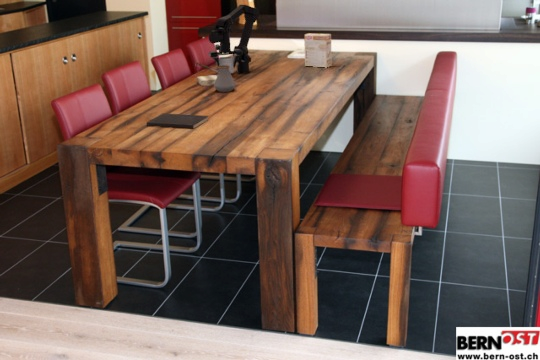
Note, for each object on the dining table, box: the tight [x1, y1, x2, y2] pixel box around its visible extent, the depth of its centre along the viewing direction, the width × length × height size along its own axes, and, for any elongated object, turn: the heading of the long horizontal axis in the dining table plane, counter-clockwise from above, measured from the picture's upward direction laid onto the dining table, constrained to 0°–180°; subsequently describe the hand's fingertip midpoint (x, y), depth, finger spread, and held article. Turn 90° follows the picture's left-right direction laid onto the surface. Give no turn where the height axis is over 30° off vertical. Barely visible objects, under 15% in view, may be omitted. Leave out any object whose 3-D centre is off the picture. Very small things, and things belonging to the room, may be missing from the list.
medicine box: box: [218, 56, 235, 74], centre depth 404 cm, size 8×4×9 cm, turn 85°
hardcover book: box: [146, 112, 209, 130], centre depth 314 cm, size 16×23×2 cm
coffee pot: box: [194, 62, 237, 93], centre depth 371 cm, size 21×12×15 cm, turn 79°
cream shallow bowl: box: [196, 74, 218, 87], centre depth 392 cm, size 12×12×3 cm
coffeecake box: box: [304, 32, 332, 69], centre depth 422 cm, size 15×7×20 cm, turn 58°
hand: (226, 68), depth 405 cm, fingers closed on medicine box, 9 cm apart
